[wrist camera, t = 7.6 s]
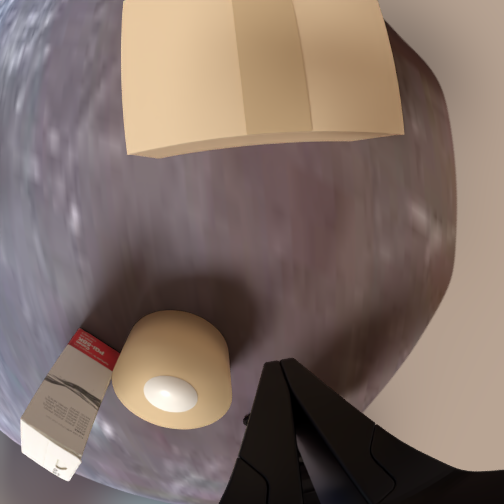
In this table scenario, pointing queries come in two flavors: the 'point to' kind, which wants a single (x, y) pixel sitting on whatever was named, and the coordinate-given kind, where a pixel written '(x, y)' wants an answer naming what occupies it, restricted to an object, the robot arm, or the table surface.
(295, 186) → the table surface
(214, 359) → the tan squat rounded block
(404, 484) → the robot arm
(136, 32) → the carton lid
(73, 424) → the ink box
